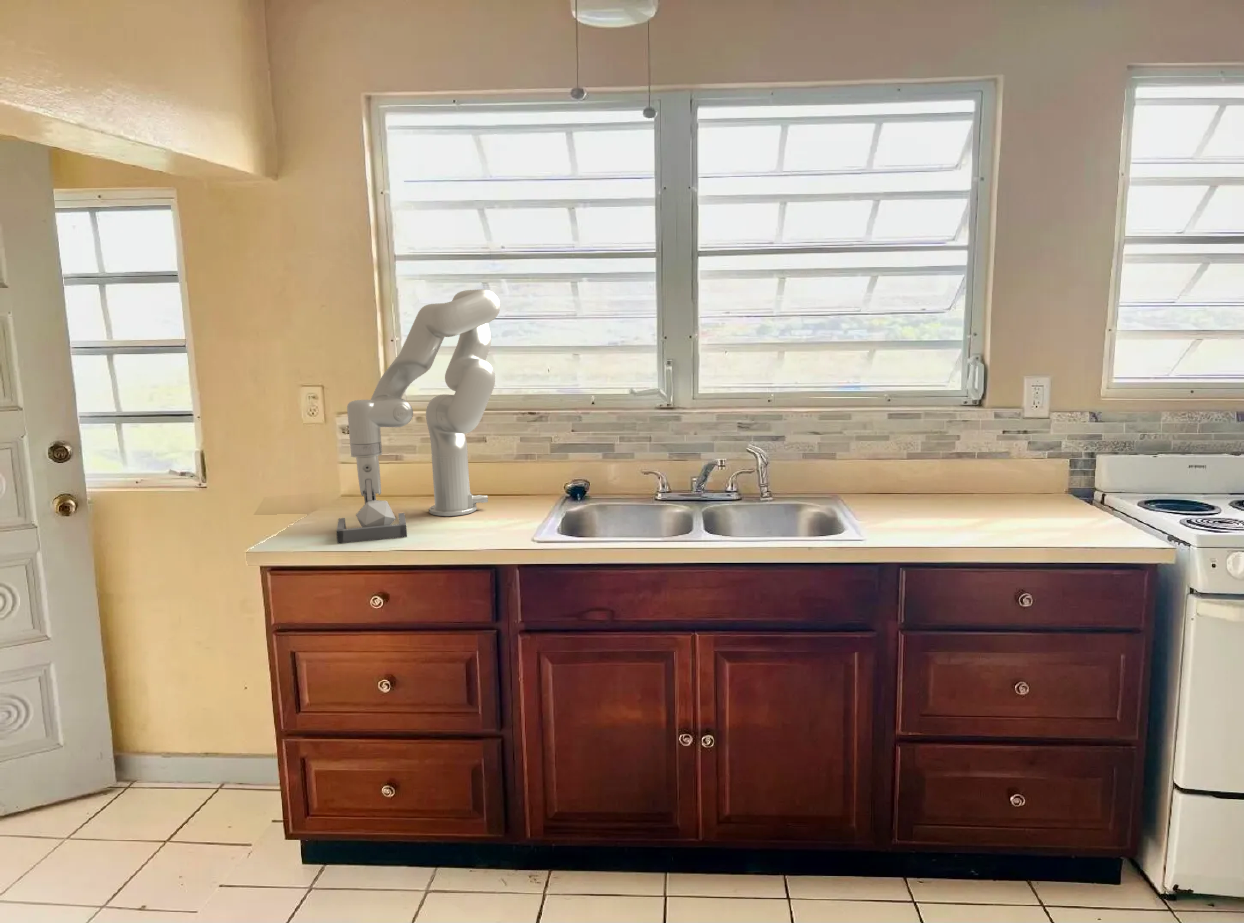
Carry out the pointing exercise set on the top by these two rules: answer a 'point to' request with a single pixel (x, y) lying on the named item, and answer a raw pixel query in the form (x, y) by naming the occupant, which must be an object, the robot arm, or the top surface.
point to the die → (375, 514)
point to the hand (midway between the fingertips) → (371, 520)
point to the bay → (371, 531)
